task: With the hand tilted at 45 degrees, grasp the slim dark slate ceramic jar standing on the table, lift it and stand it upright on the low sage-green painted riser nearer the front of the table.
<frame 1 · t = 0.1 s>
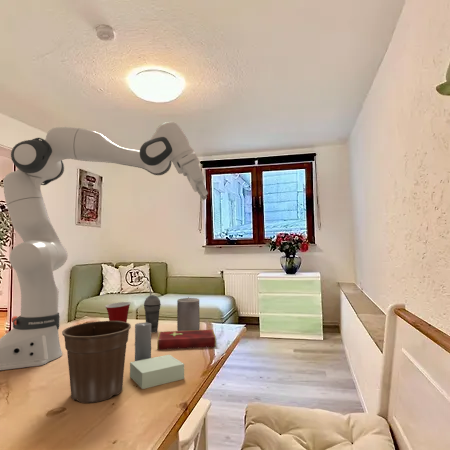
hand: (205, 197, 120), 54 cm above the table, tool tilted 30°, fingers open, 8 cm apart
beverage cup: (152, 332, 145), on the table
plant pot: (96, 393, 84), on the table
hardcover book: (186, 345, 126), on the table
pillar candle: (188, 332, 144), on the table
slate jar: (142, 362, 105), on the table
plastic cup: (117, 331, 146), on the table
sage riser: (156, 377, 93), on the table
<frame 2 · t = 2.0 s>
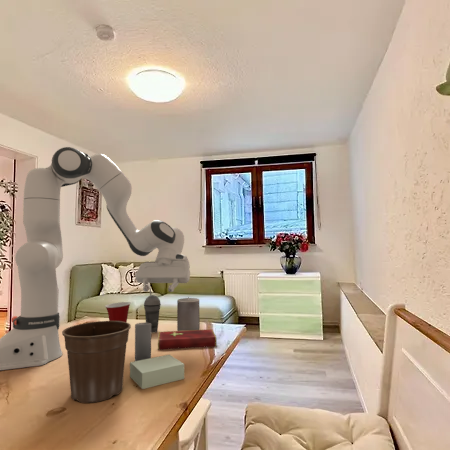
hand: (157, 290, 119), 21 cm above the table, tool tilted 45°, fingers open, 8 cm apart
nothing on the table moved.
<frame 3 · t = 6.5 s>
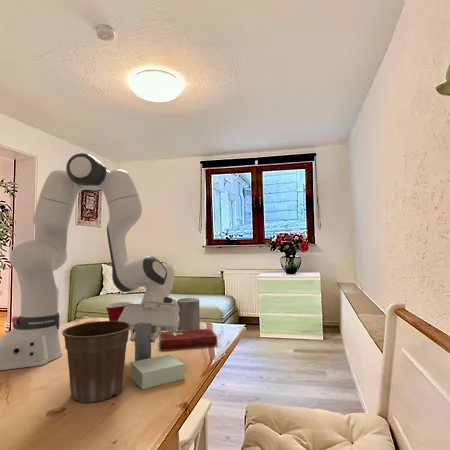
hand: (142, 341, 105), 7 cm above the table, tool tilted 45°, fingers closed on slate jar, 5 cm apart
slate jar: (142, 362, 105), on the table, touching gripper
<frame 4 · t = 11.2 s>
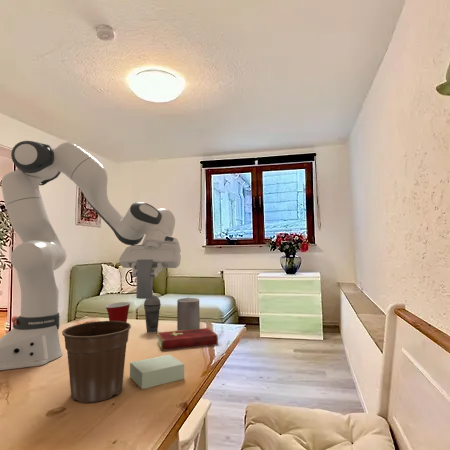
hand: (143, 275, 106), 27 cm above the table, tool tilted 45°, fingers closed on slate jar, 5 cm apart
slate jar: (144, 297, 106), point 20 cm above the table, touching gripper
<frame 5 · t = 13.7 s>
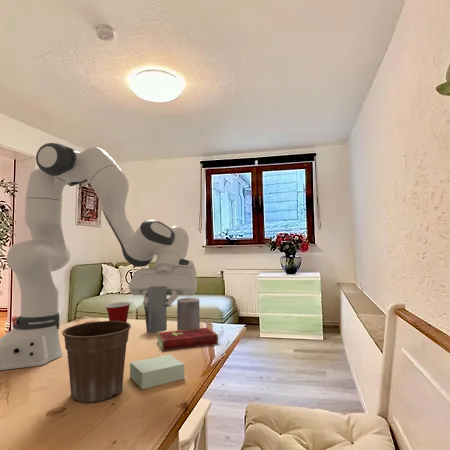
hand: (156, 305, 94), 20 cm above the table, tool tilted 45°, fingers closed on slate jar, 5 cm apart
slate jar: (157, 329, 94), point 13 cm above the table, touching gripper
when the fingers open (12 cm above the table, at t = 15.9 s): slate jar drops 1 cm, resting on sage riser.
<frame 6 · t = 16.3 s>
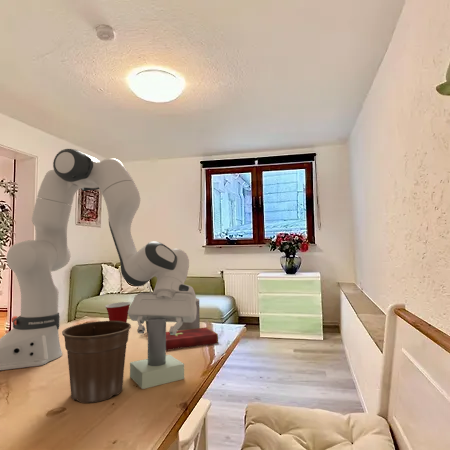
hand: (156, 333, 93), 12 cm above the table, tool tilted 45°, fingers open, 8 cm apart
slate jar: (156, 363, 94), point 4 cm above the table, touching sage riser
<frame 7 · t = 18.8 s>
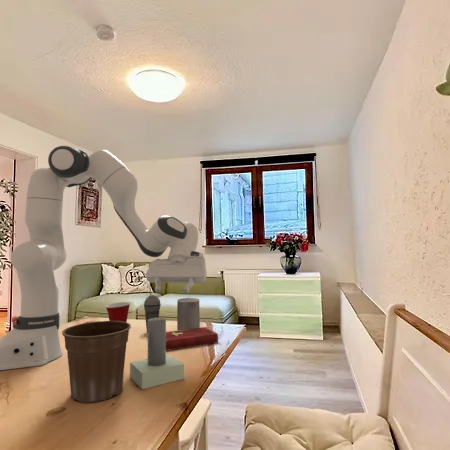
hand: (171, 291, 107), 22 cm above the table, tool tilted 45°, fingers open, 8 cm apart
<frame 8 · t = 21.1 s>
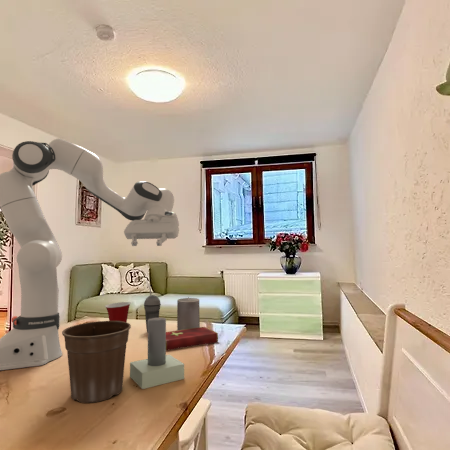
hand: (146, 244, 119), 37 cm above the table, tool tilted 45°, fingers open, 8 cm apart
at the end: slate jar inside the target area (0.1 cm from its centre), point 4.0 cm above the table; slate jar tilted 1°; the gripper is holding nothing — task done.
